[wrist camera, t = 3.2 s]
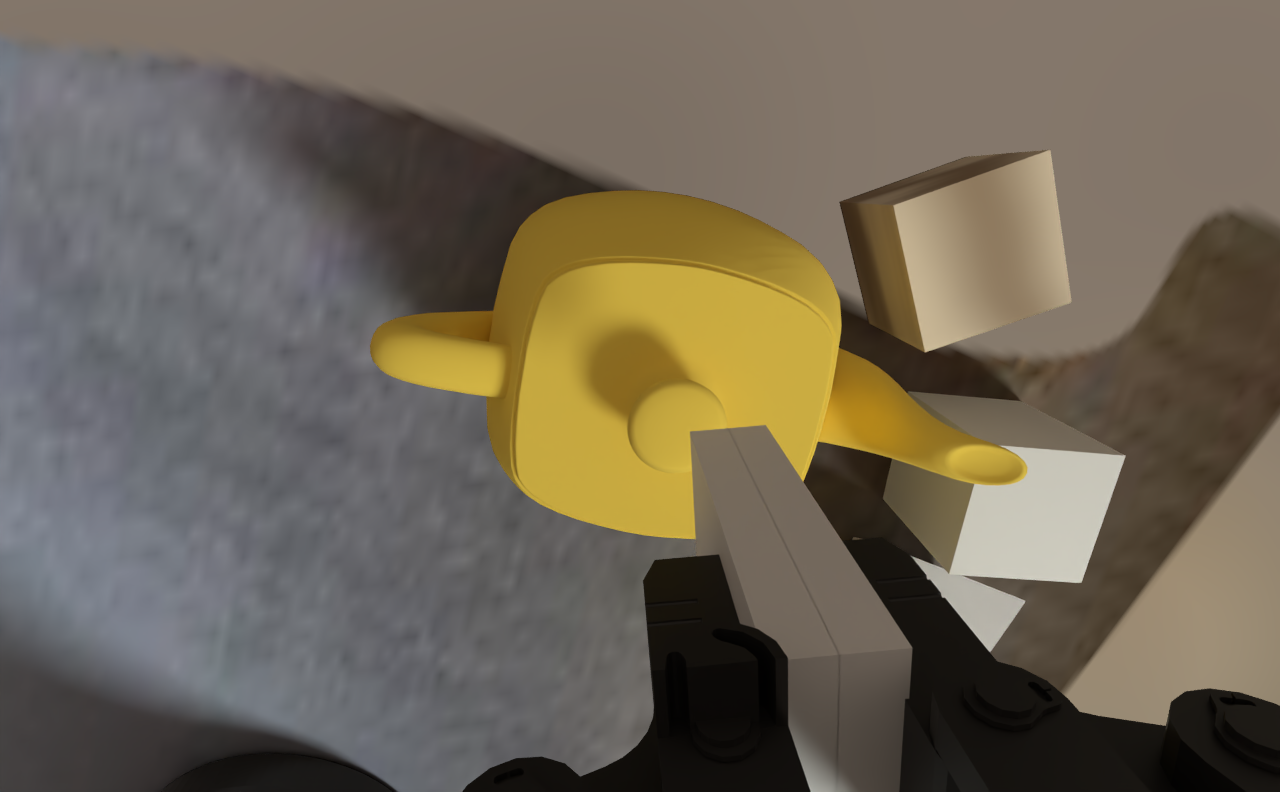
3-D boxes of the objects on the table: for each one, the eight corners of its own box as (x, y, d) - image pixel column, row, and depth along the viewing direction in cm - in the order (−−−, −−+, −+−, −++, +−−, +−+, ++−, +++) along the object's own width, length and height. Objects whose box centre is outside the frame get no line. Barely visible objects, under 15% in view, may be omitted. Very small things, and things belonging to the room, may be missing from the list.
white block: (882, 498, 29) (948, 574, 24) (907, 391, 28) (985, 444, 22) (989, 506, 30) (1081, 582, 24) (1020, 400, 28) (1125, 455, 22)
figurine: (819, 489, 29) (1027, 786, 15) (997, 561, 30) (1342, 892, 16) (745, 620, 31) (866, 996, 17) (917, 681, 32) (1162, 1073, 18)
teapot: (919, 242, 26) (1123, 279, 16) (842, 494, 29) (969, 661, 19) (455, 150, 24) (342, 124, 14) (427, 430, 27) (319, 577, 17)
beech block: (868, 323, 27) (924, 352, 22) (839, 201, 25) (893, 205, 21) (988, 281, 27) (1071, 302, 22) (965, 156, 25) (1050, 149, 20)
